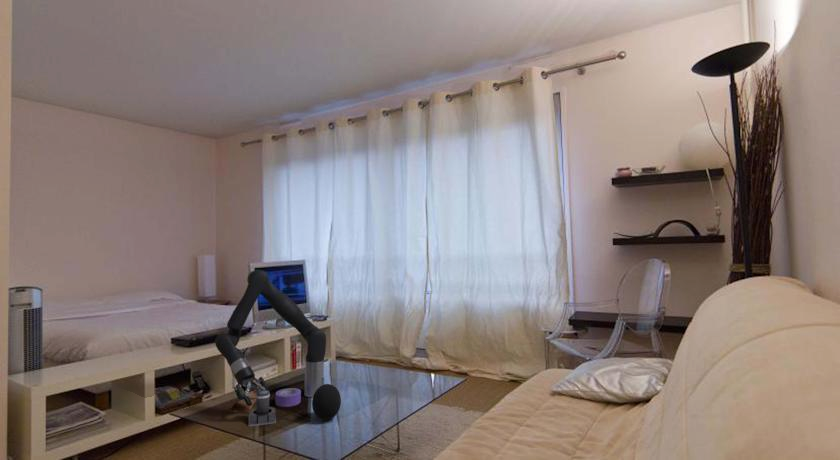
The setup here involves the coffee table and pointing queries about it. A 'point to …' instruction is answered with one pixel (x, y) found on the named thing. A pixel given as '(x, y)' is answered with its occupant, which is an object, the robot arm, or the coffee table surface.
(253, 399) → the sunglasses case
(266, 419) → the mount
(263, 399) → the lens
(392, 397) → the coffee table surface
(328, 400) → the decorative egg
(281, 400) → the tape roll
